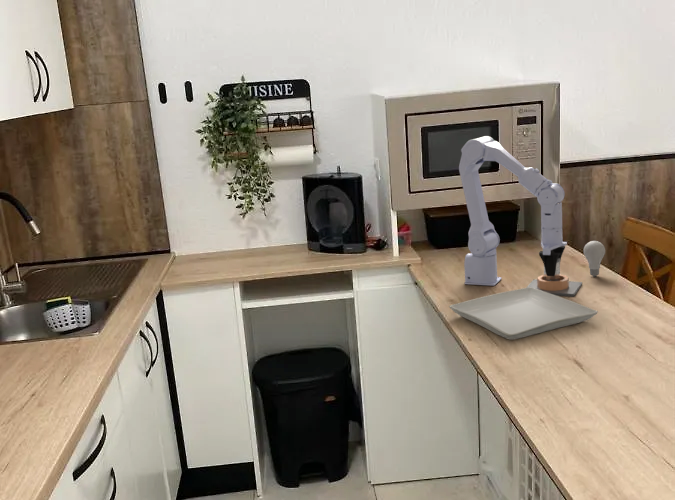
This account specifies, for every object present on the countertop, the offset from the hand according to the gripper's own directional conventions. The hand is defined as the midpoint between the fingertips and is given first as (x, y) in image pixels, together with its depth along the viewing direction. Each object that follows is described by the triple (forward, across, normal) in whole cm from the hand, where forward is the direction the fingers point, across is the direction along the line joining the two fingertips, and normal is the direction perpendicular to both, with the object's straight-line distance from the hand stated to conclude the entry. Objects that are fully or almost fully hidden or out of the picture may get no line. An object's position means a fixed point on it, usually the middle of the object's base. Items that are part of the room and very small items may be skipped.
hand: (552, 273), depth 208 cm
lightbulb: (+5, +15, -9) cm, 18 cm away
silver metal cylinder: (+3, 0, 0) cm, 3 cm away
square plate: (+5, -28, +2) cm, 29 cm away
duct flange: (+5, 0, 0) cm, 5 cm away
